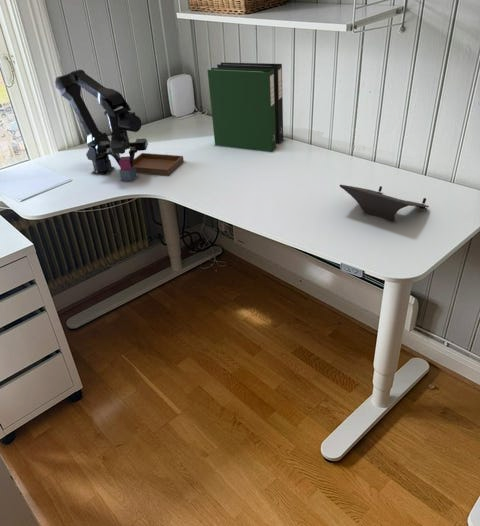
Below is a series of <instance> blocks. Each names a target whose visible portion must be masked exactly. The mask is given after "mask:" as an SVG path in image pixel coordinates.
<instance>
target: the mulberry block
mask: <svg viewBox="0 0 480 526" xmlns="http://www.w3.org/2000/svg"><path fill="white" fill-rule="evenodd" d="M119 164H120V166H119V168H120V169H121V170H131V169H132V167H131V162H130V155H129V156H120V160H119ZM119 164H118V165H119Z"/></svg>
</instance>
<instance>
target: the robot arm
mask: <svg viewBox="0 0 480 526" xmlns="http://www.w3.org/2000/svg"><path fill="white" fill-rule="evenodd" d="M54 86H55V88H56V90H57V91H58V92H59V94H60V96H61V97H63V98H64V99H65V100H67V101H68V102H69V104H70V106H71V107H72V109H73V111H74V113H75V115H76V117H77V119H78V121H79V123H80V125H81V127H82V128H83V130H84V133H85V134H86V145H87V147H88V149H87V152H86V153H85V156H86V158H87V160H89V161H91V162H92V166H93V170H92V174H95V175H107V174H108V173H110V172H111V171H112V170H114V168H115V167H114V166H112V162H111V159H110V157H111V156H112V158H113V159H114V160H115V161H116V163H117V164H118V166H119V167H120V164H119V160H120V158H121V155H123V154H125V153H126V151H127V150H129V151H128V154H129V156H130V162H131V167H133V162H134V159H135V155H136V153H138V152H141V151H143V152H144V151H147V148H148V146H149V143H148V142H149V141H148V139H147V138H136V139H135V141H131V142H130V138H129V134H128V132H133V133H138V132H139V131H140V130H141V128H142V119H141V118H140V117H139V116H138V115H136V112H135V111H132V108H131V107H130V104H129V103H128V102H127V101H126V99H125V98H124V96H123V95H122V93H121V92H119V91H118V90H116V89H113V88H109V87H105V86H104V85H103V84H101V83H99V82H98V81H97V80H95V79H94V78H92V77H91V76H89V75H88V74H87V73H86V72H85V71H84V70H83V69H81V68H79V69H76V70H73V71H71V72H69V73H66V74H63V75H60V76H57V77H55V81H54ZM82 89H83V90H84V91H86V92H87V93H88V94H90V95H92V96H93V97H94V98H96V100H97V102H98V105H99V106H100V107H102V109H103V110H105V111H104V112H103V116H107V119H108V125H109V128H110V138H109V136H108V134H107V133H106V132H102V131H101V130H100V129H99V128H98V126H97V124H96V122H95V120H94V117H93V116H92V115H91V112H90V110H89V109H88V107H87V105H86V103H85V101H84V99H83V97H82V94H81V93H82Z"/></svg>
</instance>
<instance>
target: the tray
mask: <svg viewBox="0 0 480 526" xmlns="http://www.w3.org/2000/svg"><path fill="white" fill-rule="evenodd" d="M184 162H185V161H184V156H183V155H175V154H162V153H161V154H160V153H148V152H147V153H146V152H141V153H140V154H138V155H137V156H136V157H134V162H133V166H135V169H136V174H144V175H154V176H155V175H156V176H164V177H165V176H166V177H169V176H171V174H173V172H175V171H176V170H177V169H178V168H179V167H180V166H181V165H182V164H183V163H184Z"/></svg>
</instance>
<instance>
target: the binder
mask: <svg viewBox="0 0 480 526" xmlns="http://www.w3.org/2000/svg"><path fill="white" fill-rule="evenodd" d="M206 72H207V79H208V88H209V89H208V91H209V98H210V109H211V118H212V119H211V120H212V129H213V135H214V136H213V139H214V146H217V147H225V148H233V149H243V150H251V151H260V152H267V153H268V152H269V153H270V152H271V153H272V152H274V150H276V148H277V145H280V144H281V143H282V142H283V141H284V108H283V107H284V102H283V99H284V98H283V63H268V62H267V63H261V62H259V63H258V62H220V64H219V63H218V64H216V67H211V68H210V69H207V71H206Z"/></svg>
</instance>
